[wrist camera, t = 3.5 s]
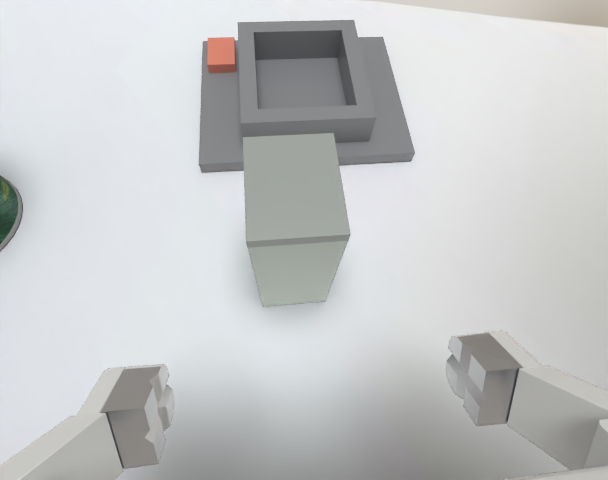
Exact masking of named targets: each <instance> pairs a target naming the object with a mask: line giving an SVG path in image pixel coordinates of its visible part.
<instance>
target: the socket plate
mask: <svg viewBox="0 0 608 480" xmlns="http://www.w3.org/2000/svg"><path fill="white" fill-rule="evenodd" d="M323 133H334V138H335V144H336V150H337V156H338V162H339V165H347V164H366V163H385V162H404V161H411V160H412V158H413V156H414V154H415V151H414V148H413V144H412V141H411V137H410V133H409V130H408V126H407V122H406V119H405V115H404V112H403V108H402V104H401V101H400V97H399V94H398V90H397V86H396V83H395V79H394V75H393V72H392V68H391V65H390V61H389V57H388V54H387V50H386V46H385V43H384V39H383V37H359V38H358V36H357V31H356V27H355V23H354V20H331V21H283V22H238V41H235V39H234V37H231V38H208V41H203V53H202V84H201V116H200V147H199V165H200V168H201V171H202V172H215V171H234V170H244V157H243V137H257V136H279V135H301V134H323Z"/></svg>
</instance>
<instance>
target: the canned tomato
mask: <svg viewBox="0 0 608 480" xmlns="http://www.w3.org/2000/svg"><path fill="white" fill-rule="evenodd" d="M21 216H22V201H21V197H20V195H19V193H18V191H17V189H16V188H15V187H14V186H13V185H12V184H11V182H9V181H8V180H6V179H5V178H3V177H1V176H0V250H1V249H2V248H3V247H5V245H6V244H7V243H8V242H9V240H10V239H11V238H12V237H13V235H14V233H15V231H16V229H17V228H18V226H19V222H20V219H21Z"/></svg>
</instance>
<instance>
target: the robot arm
mask: <svg viewBox="0 0 608 480" xmlns="http://www.w3.org/2000/svg"><path fill="white" fill-rule="evenodd" d="M448 348H449V350H450V351H451V352H452V355H451V356H450V357H449V359H448V360H447V363H446V374H447V379H448V382H449V384H450V387H451V388H452V390H453V392H454V393H455V394H456V395H457V396H459V397H461V398H462V399H464V405H463V407H464V408H465V410H466V411H467V413H468V414H469V416H470V417H471V419H472V420H473V422H474V423H475V425H476V426H483V425H494V424H506V423H507V425H508V426H509V427H511V428H512V429H513V430H515V431H516V432H518V433H519V434H520V435H522V436H523V437H525V438H526V439H527V440H529V441H530V442H532V443H533V444H534V445H536V446H537V447H539V448H540V449H542V450H543V451H544V452H546V453H547V454H549V455H550V456H551V457H553V458H554V459H556V460H557V461H558V462H560V463H561V464H563V465H564V466H566V467H567V468H568V469H570V471H562V472H555V473H547V474H539V475H532V476H524V477H517V478H509V479H502V480H608V391H607V390H604V389H602V388H600V387H597V386H595V385H593V384H590V383H588V382H585V381H583V380H581V379H578V378H576V377H574V376H571V375H569V374H566V373H564V372H562V371H559V370H557V369H555V368H552V367H550V366H542V365H541V364H540V363H539V362H538V361H537V360H536V359H534V358H533V357H532V356H531V355H530V354H529V353H528V352H527V351H526V350H525V349H524V348H523V347H521V346H520V345H519V344H518V343H517V342H516V341H515V340H514V339H513V338H512V337H511V336H510V335H508V334H507V333H506V332H504V331H493V332H485V333H480V334H471V335H461V336H452V337H451V339H450V341H449V347H448ZM168 378H169V373H168V369H167V366H166V365H165V364H156V365H143V366H129V367H119V368H108V369H107V370H105V371H104V372H103V373H102V375H101V376H100V378H99V380H98V381H97V383H96V384H95V386H94V388H93V389H92V391H91V393H90V394H89V396H88V397H87V399H86V401H85V402H84V404H83V405H82V407H81V409H80V410H79V412H78V414H77V415H76V416H70V417H68V418H67V419H66V420H64V421H63V422H61V423H60V424H58V425H57V426H56V427H54V428H53V429H51V430H50V431H49V432H47V433H46V434H44V435H43V436H41V437H40V438H39V439H37V440H36V441H34V442H33V443H32V444H30V445H29V446H27V447H26V448H24V449H23V450H22V451H20V452H19V453H17V454H16V455H15V456H13V457H12V458H10V459H9V460H7V461H6V462H5V463H3V464H2V465H0V480H116V479H117V478H118V476H119V475H120V474H121V473H122V472H123V469H127V468H133V467H140V466H147V465H154V464H159V461H160V457H161V454H162V451H163V447H164V444H165V441H166V439H165V435H164V431H165V430H166V429H167V428H168V427H169V426H170V424H171V421H172V417H173V409H174V398H173V392H172V388H170V387H169V386H168V385H167V381H168Z"/></svg>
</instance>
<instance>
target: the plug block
mask: <svg viewBox="0 0 608 480" xmlns="http://www.w3.org/2000/svg"><path fill="white" fill-rule="evenodd" d="M243 157H244V188H245V220H246V243H247V247H248V251H249V255H250V259H251V263H252V266H253V270H254V274H255V278H256V282H257V286H258V290H259V294H260V298H261V302H262V306H263V307H264V306H276V305H288V304H300V303H312V302H324V301H326V298H327V295H328V293H329V290H330V287H331V285H332V282H333V279H334V277H335V274H336V271H337V269H338V266H339V263H340V261H341V258H342V255H343V253H344V250H345V247H346V245H347V242H348V239H349V237H350V229H349V223H348V217H347V211H346V205H345V198H344V192H343V186H342V180H341V174H340V168H339V162H338V156H337V150H336V144H335V138H334V133H323V134H301V135H279V136H257V137H243Z"/></svg>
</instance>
